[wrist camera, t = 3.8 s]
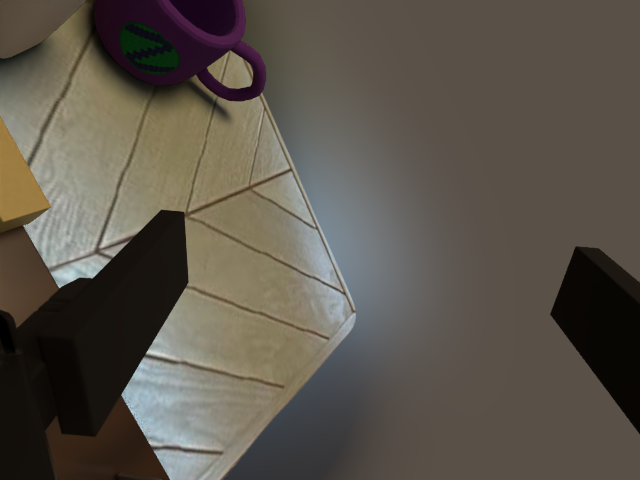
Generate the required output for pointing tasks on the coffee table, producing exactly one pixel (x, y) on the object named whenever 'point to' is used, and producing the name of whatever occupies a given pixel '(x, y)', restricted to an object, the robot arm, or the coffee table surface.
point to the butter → (17, 186)
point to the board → (67, 450)
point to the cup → (31, 22)
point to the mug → (178, 40)
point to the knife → (134, 477)
